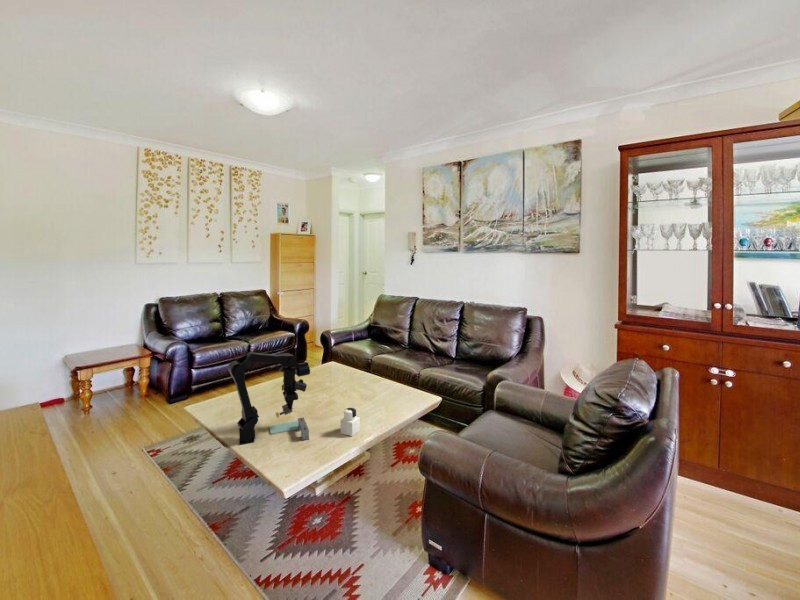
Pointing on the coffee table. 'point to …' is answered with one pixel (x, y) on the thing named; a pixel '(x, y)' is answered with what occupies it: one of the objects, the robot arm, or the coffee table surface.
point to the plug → (284, 410)
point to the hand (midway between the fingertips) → (289, 407)
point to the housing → (303, 429)
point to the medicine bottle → (350, 422)
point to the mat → (283, 427)
